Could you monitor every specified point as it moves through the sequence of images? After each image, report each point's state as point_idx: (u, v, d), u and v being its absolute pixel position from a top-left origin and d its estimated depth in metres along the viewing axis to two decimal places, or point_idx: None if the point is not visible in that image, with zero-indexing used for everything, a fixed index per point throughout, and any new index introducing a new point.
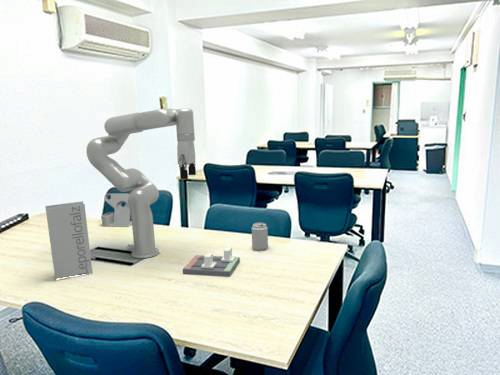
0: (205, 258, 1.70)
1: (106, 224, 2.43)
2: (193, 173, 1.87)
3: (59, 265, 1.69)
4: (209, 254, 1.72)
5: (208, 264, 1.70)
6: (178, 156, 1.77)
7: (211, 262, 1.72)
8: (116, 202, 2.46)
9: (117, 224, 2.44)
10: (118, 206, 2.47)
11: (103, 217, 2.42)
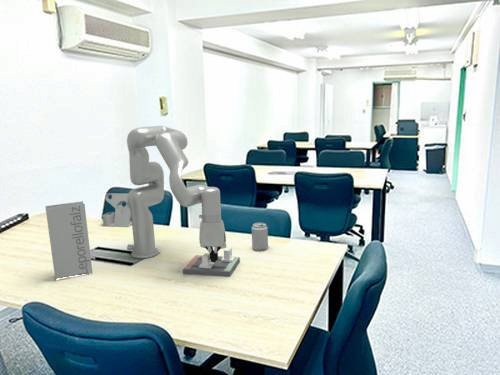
0: (203, 258, 1.70)
1: (107, 224, 2.44)
2: None
3: (59, 265, 1.69)
4: (207, 254, 1.72)
5: (206, 264, 1.70)
6: (223, 237, 1.66)
7: (209, 262, 1.72)
8: (117, 202, 2.47)
9: (117, 224, 2.44)
10: (119, 206, 2.47)
11: (104, 217, 2.43)
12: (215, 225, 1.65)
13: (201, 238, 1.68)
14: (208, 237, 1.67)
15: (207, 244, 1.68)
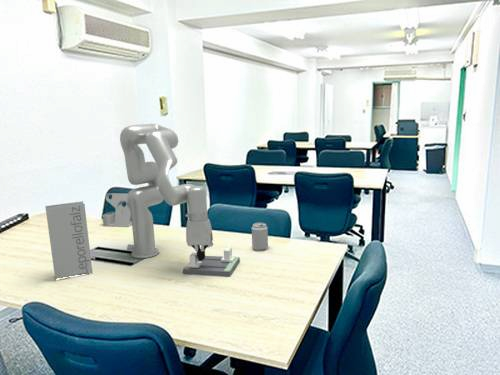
0: (190, 257, 1.71)
1: (107, 224, 2.44)
2: None
3: (59, 265, 1.69)
4: (195, 253, 1.74)
5: (193, 263, 1.72)
6: (209, 236, 1.68)
7: (197, 261, 1.73)
8: (117, 202, 2.47)
9: (118, 224, 2.44)
10: (119, 206, 2.47)
11: (104, 217, 2.43)
12: (201, 223, 1.67)
13: (188, 237, 1.69)
14: (195, 236, 1.68)
15: (194, 243, 1.69)
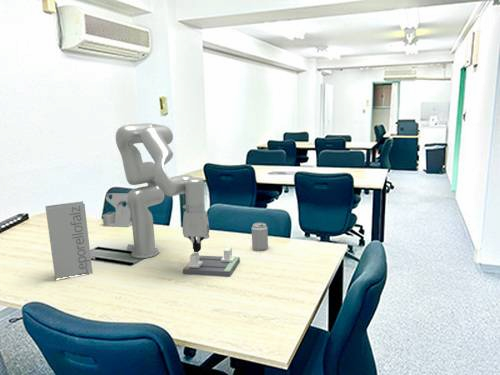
0: (191, 257, 1.71)
1: (107, 224, 2.44)
2: None
3: (59, 265, 1.69)
4: (195, 253, 1.73)
5: (194, 263, 1.72)
6: (206, 228, 1.67)
7: (197, 261, 1.73)
8: (117, 202, 2.47)
9: (118, 224, 2.45)
10: (119, 206, 2.47)
11: (104, 217, 2.43)
12: (198, 215, 1.66)
13: (184, 228, 1.69)
14: (191, 227, 1.68)
15: (190, 234, 1.69)
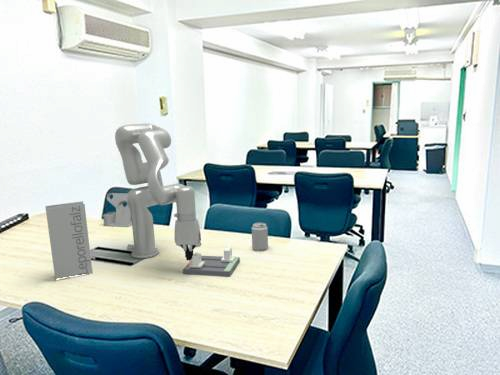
0: (193, 257, 1.71)
1: (107, 223, 2.44)
2: None
3: (59, 265, 1.69)
4: (197, 253, 1.73)
5: (196, 263, 1.71)
6: (197, 236, 1.69)
7: (199, 261, 1.73)
8: (118, 202, 2.47)
9: (118, 224, 2.45)
10: (120, 206, 2.47)
11: (104, 216, 2.43)
12: (189, 223, 1.68)
13: (176, 236, 1.70)
14: (183, 235, 1.69)
15: (182, 243, 1.70)
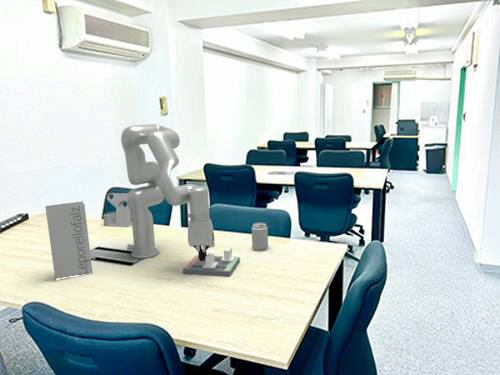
0: (207, 258, 1.70)
1: (107, 223, 2.44)
2: None
3: (59, 265, 1.69)
4: (211, 254, 1.72)
5: (210, 264, 1.70)
6: (211, 236, 1.67)
7: (213, 262, 1.72)
8: (118, 202, 2.47)
9: (118, 224, 2.45)
10: (120, 206, 2.47)
11: (104, 216, 2.44)
12: (203, 224, 1.66)
13: (189, 237, 1.69)
14: (196, 236, 1.68)
15: (195, 243, 1.69)
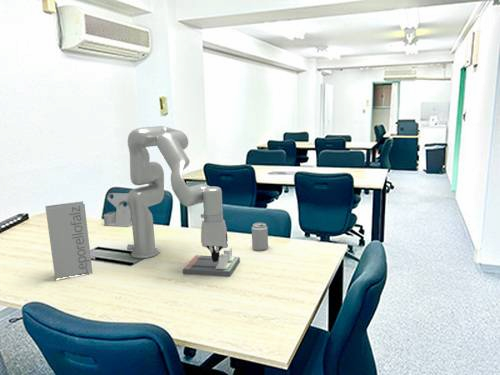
0: (220, 259, 1.69)
1: (107, 223, 2.44)
2: None
3: (59, 265, 1.69)
4: (224, 255, 1.71)
5: (223, 265, 1.69)
6: (224, 237, 1.66)
7: (226, 263, 1.70)
8: (118, 202, 2.47)
9: (118, 224, 2.45)
10: (120, 206, 2.47)
11: (105, 216, 2.44)
12: (217, 224, 1.65)
13: (203, 238, 1.67)
14: (210, 237, 1.67)
15: (208, 244, 1.67)
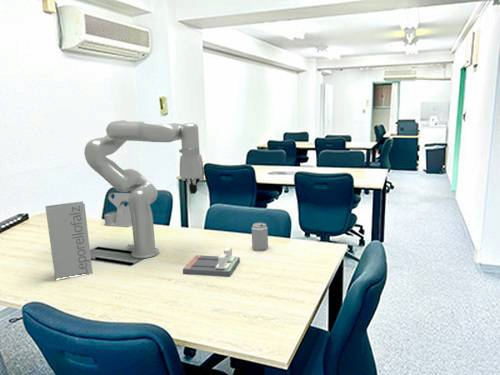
0: (219, 259, 1.69)
1: (108, 223, 2.45)
2: None
3: (59, 265, 1.69)
4: (223, 255, 1.71)
5: (222, 265, 1.69)
6: (201, 169, 1.81)
7: (225, 263, 1.70)
8: (119, 202, 2.47)
9: (119, 224, 2.45)
10: (121, 206, 2.47)
11: (105, 216, 2.44)
12: (193, 157, 1.80)
13: (181, 170, 1.83)
14: (187, 169, 1.82)
15: (186, 176, 1.83)
